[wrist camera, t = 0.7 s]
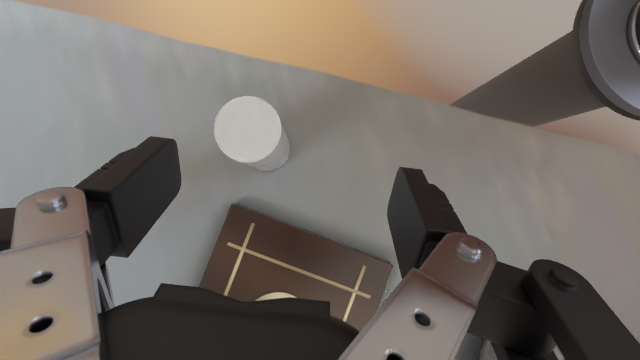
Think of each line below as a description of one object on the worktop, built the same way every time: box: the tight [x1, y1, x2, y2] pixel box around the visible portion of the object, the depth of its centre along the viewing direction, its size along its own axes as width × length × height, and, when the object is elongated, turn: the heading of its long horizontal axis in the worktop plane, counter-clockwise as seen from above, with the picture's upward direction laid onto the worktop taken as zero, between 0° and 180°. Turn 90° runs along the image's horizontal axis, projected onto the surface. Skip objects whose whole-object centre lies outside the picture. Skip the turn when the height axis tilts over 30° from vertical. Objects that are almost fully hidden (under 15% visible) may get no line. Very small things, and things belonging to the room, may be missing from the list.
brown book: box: [199, 203, 393, 331], centre depth 29 cm, size 18×16×1 cm
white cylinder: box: [214, 96, 290, 171], centre depth 26 cm, size 4×4×10 cm
